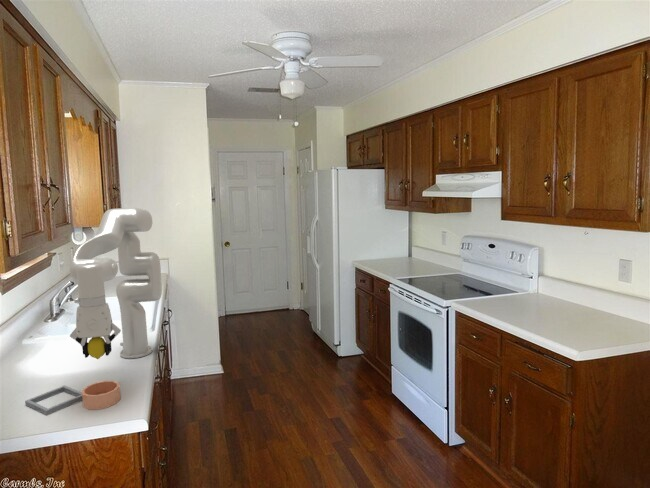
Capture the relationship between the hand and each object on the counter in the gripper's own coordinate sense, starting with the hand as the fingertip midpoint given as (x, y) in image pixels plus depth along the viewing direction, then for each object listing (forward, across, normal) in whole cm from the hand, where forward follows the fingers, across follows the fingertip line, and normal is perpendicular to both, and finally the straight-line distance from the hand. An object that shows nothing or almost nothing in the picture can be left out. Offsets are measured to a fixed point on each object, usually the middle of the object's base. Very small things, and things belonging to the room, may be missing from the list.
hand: (97, 354), depth 154 cm
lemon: (+2, 0, 0) cm, 2 cm away
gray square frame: (+16, -15, +4) cm, 22 cm away
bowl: (+16, 0, 0) cm, 16 cm away
